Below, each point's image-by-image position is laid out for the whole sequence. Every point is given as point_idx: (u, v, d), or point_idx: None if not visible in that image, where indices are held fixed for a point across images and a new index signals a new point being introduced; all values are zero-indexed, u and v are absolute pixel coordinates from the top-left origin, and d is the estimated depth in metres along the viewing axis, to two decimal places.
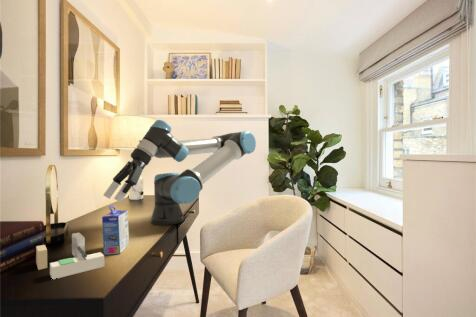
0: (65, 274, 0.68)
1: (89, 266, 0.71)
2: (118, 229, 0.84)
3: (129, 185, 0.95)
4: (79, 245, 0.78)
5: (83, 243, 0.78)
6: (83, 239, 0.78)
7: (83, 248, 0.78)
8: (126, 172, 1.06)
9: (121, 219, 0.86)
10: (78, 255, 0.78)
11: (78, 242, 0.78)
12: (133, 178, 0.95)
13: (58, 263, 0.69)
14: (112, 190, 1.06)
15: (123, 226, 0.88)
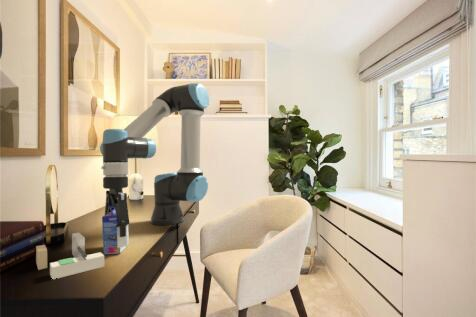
0: (65, 274, 0.68)
1: (89, 266, 0.71)
2: None
3: (123, 227, 0.83)
4: (79, 245, 0.78)
5: (83, 243, 0.78)
6: (83, 239, 0.78)
7: (83, 248, 0.78)
8: None
9: None
10: (78, 255, 0.78)
11: (78, 242, 0.78)
12: (122, 219, 0.81)
13: (58, 263, 0.69)
14: None
15: None
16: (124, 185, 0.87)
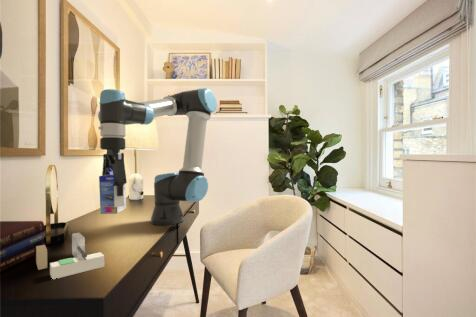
0: (65, 274, 0.68)
1: (89, 266, 0.71)
2: None
3: (120, 186, 0.82)
4: (79, 245, 0.78)
5: (83, 243, 0.78)
6: (83, 239, 0.78)
7: (83, 248, 0.78)
8: (110, 167, 0.90)
9: None
10: (78, 255, 0.78)
11: (78, 242, 0.78)
12: (119, 178, 0.81)
13: (58, 263, 0.69)
14: None
15: None
16: (121, 146, 0.87)
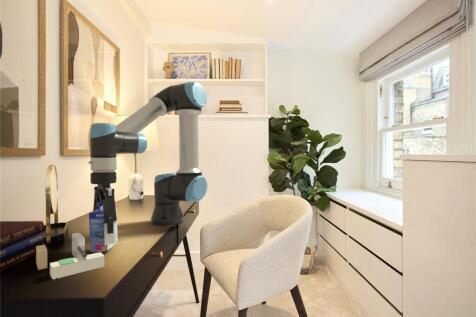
0: (65, 274, 0.68)
1: (89, 266, 0.71)
2: None
3: (110, 223, 0.80)
4: (79, 245, 0.78)
5: (83, 243, 0.78)
6: (83, 239, 0.78)
7: (83, 248, 0.78)
8: None
9: None
10: (78, 255, 0.78)
11: (78, 242, 0.78)
12: (109, 216, 0.79)
13: (58, 263, 0.69)
14: None
15: None
16: (112, 181, 0.85)
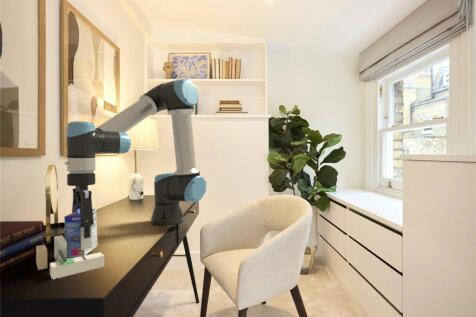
0: (65, 274, 0.68)
1: (89, 266, 0.71)
2: None
3: (87, 227, 0.76)
4: (60, 249, 0.75)
5: (65, 246, 0.75)
6: (65, 242, 0.75)
7: (65, 252, 0.75)
8: None
9: None
10: (59, 259, 0.75)
11: (59, 245, 0.75)
12: (85, 219, 0.75)
13: (58, 263, 0.69)
14: None
15: None
16: (90, 182, 0.80)
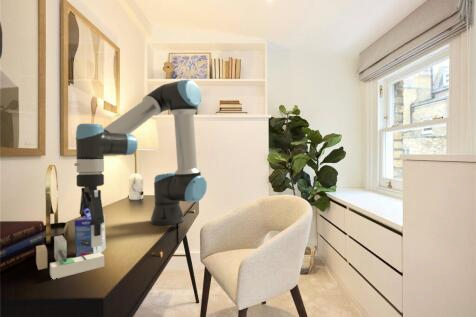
0: (65, 274, 0.68)
1: (89, 266, 0.71)
2: None
3: (97, 225, 0.77)
4: (60, 249, 0.75)
5: (65, 246, 0.75)
6: (65, 242, 0.75)
7: (65, 252, 0.75)
8: None
9: None
10: (59, 259, 0.75)
11: (59, 245, 0.75)
12: (96, 217, 0.76)
13: (58, 263, 0.69)
14: None
15: None
16: (99, 183, 0.82)
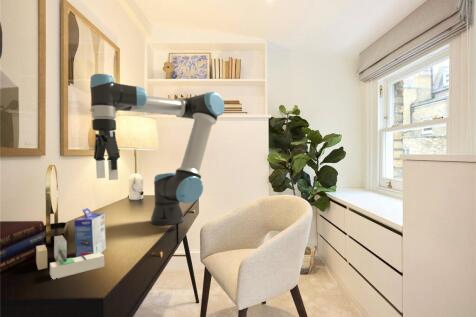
0: (65, 274, 0.68)
1: (89, 266, 0.71)
2: (91, 233, 0.79)
3: (114, 160, 0.89)
4: (60, 249, 0.75)
5: (65, 246, 0.75)
6: (65, 242, 0.75)
7: (65, 252, 0.75)
8: (101, 147, 0.97)
9: (95, 223, 0.81)
10: (59, 259, 0.75)
11: (59, 245, 0.75)
12: (113, 153, 0.87)
13: (58, 263, 0.69)
14: (101, 169, 1.00)
15: (98, 230, 0.83)
16: (112, 127, 0.93)
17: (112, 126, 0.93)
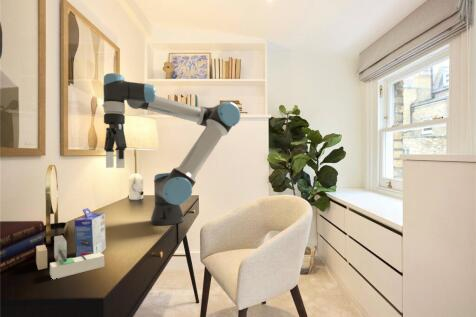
0: (65, 274, 0.68)
1: (89, 266, 0.71)
2: (91, 233, 0.79)
3: (121, 150, 0.99)
4: (60, 249, 0.75)
5: (65, 246, 0.75)
6: (65, 242, 0.75)
7: (65, 252, 0.75)
8: (111, 139, 1.08)
9: (95, 223, 0.81)
10: (59, 259, 0.75)
11: (59, 245, 0.75)
12: (120, 143, 0.98)
13: (58, 263, 0.69)
14: (110, 159, 1.10)
15: (98, 230, 0.83)
16: (121, 121, 1.04)
17: (121, 120, 1.04)
